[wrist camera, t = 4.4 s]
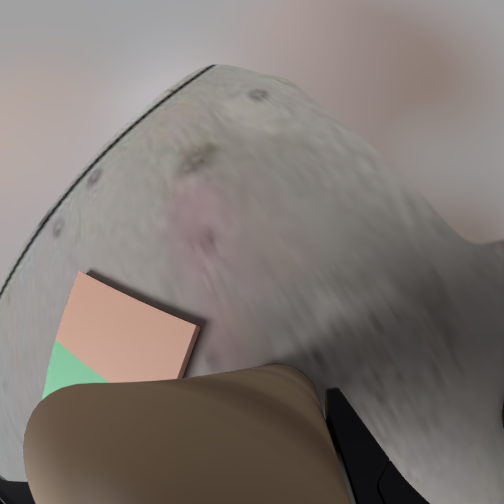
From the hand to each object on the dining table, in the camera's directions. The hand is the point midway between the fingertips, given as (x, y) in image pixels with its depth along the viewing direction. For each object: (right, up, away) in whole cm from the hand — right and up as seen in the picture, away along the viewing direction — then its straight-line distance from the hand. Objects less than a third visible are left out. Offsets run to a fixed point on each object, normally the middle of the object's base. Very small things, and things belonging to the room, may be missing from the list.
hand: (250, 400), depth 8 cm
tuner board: (-12, -8, +7) cm, 16 cm away
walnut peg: (+1, -4, +6) cm, 7 cm away
